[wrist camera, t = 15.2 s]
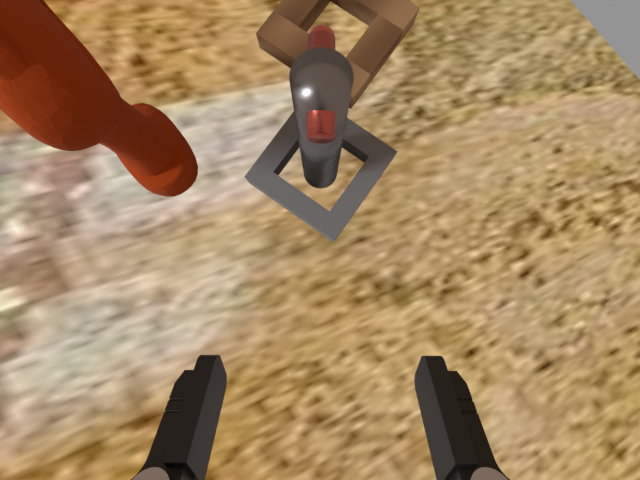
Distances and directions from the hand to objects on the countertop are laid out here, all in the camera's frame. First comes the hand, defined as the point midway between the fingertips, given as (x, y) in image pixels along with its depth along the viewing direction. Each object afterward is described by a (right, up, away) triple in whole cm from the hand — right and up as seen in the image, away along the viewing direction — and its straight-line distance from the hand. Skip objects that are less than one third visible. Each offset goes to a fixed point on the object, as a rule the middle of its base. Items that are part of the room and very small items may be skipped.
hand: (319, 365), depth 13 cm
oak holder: (+1, +22, +13) cm, 25 cm away
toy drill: (-15, +15, +13) cm, 25 cm away
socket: (0, +10, +12) cm, 16 cm away
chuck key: (0, +10, +12) cm, 16 cm away
